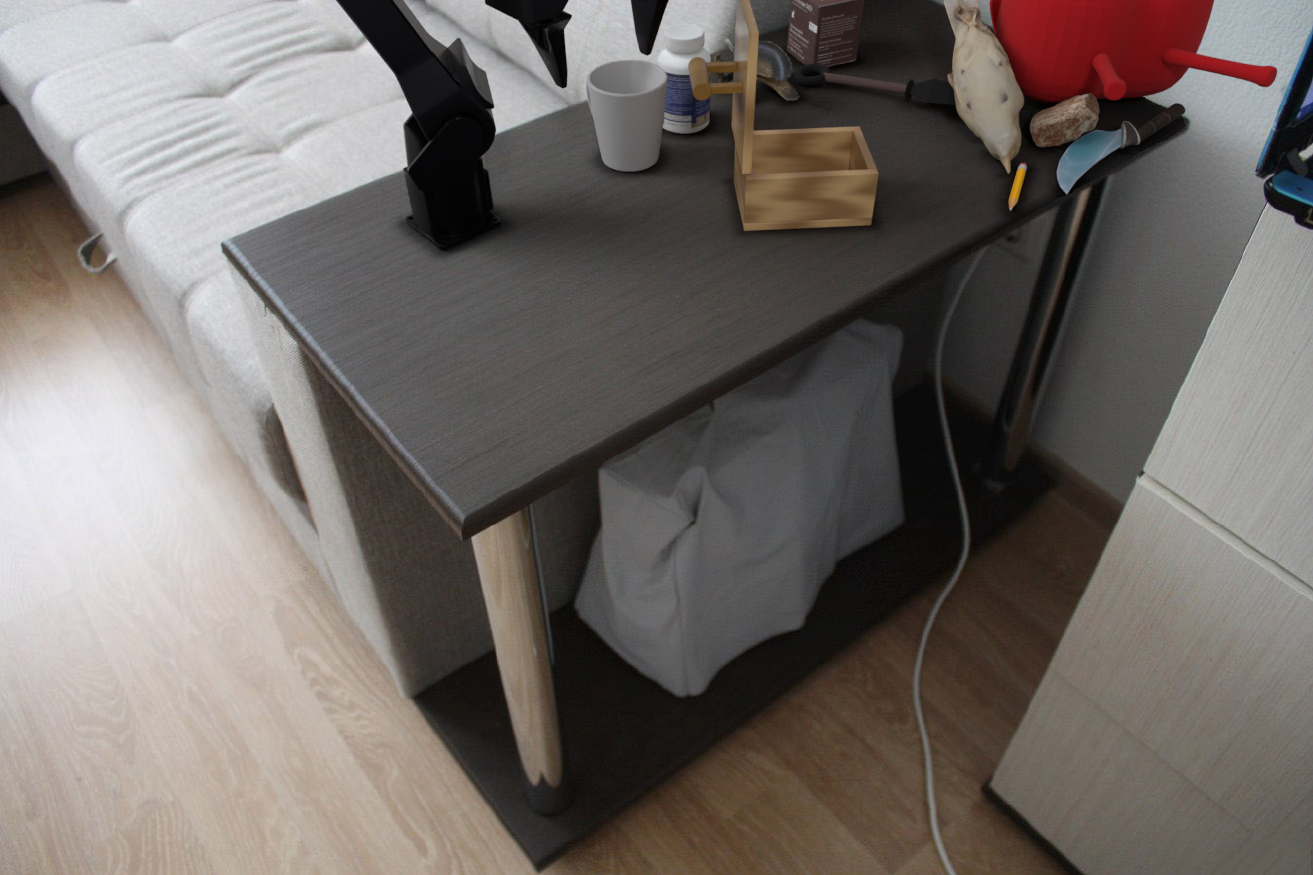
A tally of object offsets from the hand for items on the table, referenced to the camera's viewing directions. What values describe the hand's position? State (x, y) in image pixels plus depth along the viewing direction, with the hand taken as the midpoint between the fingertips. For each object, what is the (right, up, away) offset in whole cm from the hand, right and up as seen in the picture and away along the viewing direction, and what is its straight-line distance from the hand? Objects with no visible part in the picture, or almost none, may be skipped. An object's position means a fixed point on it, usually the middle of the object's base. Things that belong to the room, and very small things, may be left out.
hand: (604, 70), depth 87 cm
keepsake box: (+18, -9, +9) cm, 22 cm away
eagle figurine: (+15, +6, +25) cm, 29 cm away
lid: (+12, -1, 0) cm, 12 cm away
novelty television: (+47, +19, +29) cm, 59 cm away
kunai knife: (+42, -2, +19) cm, 46 cm away
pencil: (+38, -7, +9) cm, 40 cm away
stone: (+47, -1, +15) cm, 50 cm away
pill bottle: (+7, +1, +20) cm, 22 cm away
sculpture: (+35, +6, +13) cm, 38 cm away
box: (+23, +13, +31) cm, 41 cm away
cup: (+1, -3, +16) cm, 16 cm away
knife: (+47, -1, +16) cm, 50 cm away
